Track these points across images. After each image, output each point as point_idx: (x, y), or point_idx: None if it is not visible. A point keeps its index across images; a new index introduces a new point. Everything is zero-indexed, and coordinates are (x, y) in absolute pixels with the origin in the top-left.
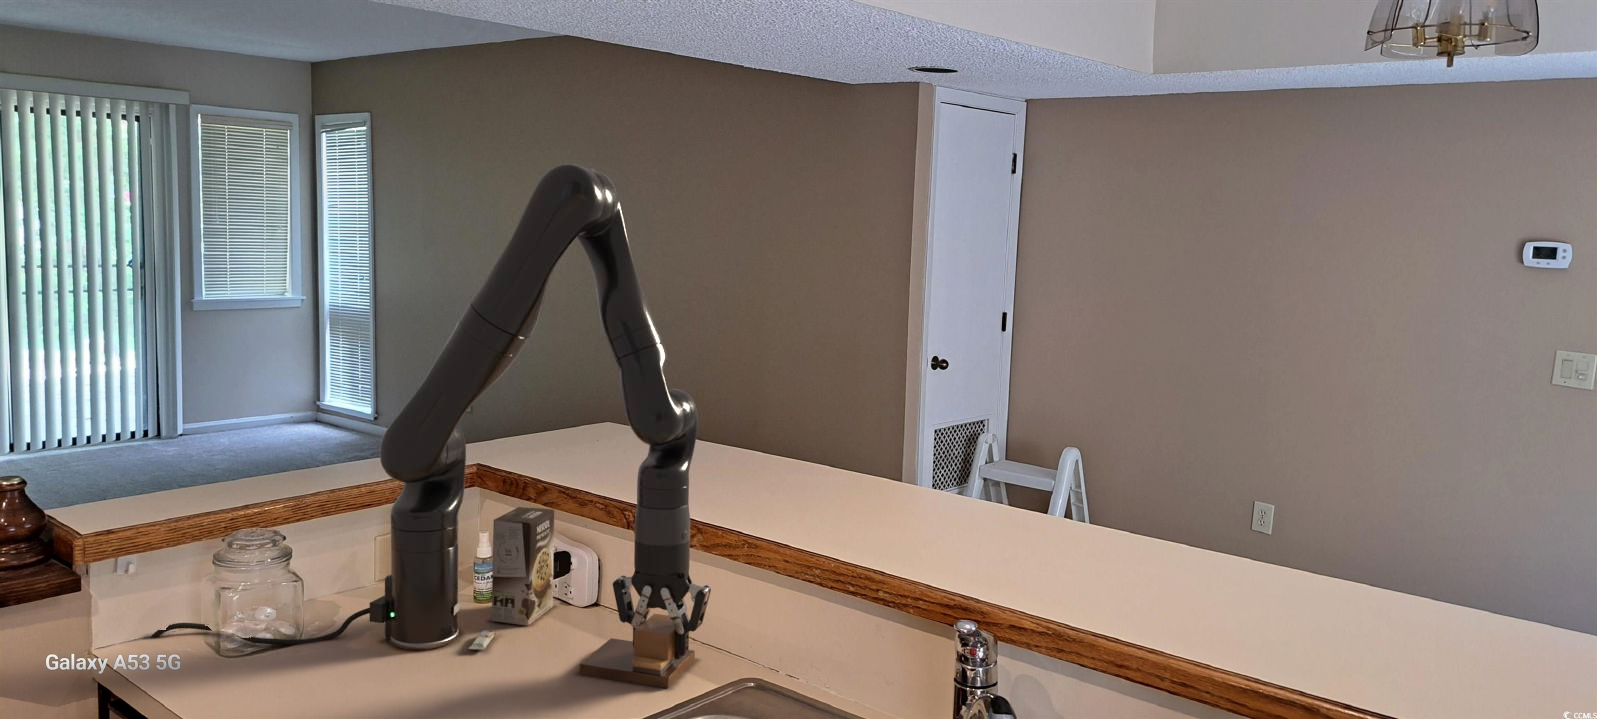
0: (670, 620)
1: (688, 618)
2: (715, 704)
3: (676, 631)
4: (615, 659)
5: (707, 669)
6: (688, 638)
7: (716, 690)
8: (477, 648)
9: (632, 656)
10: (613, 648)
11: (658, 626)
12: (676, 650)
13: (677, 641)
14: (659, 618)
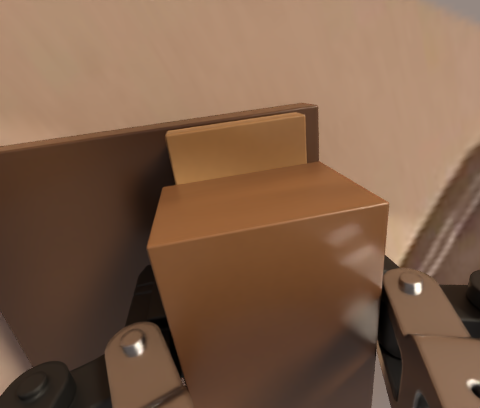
0: (309, 290)
1: (450, 306)
2: None
3: (377, 348)
4: (113, 311)
5: (364, 148)
6: (385, 259)
7: (419, 249)
8: None
9: (144, 266)
10: (29, 246)
11: (287, 377)
12: None
13: None
14: (232, 296)
